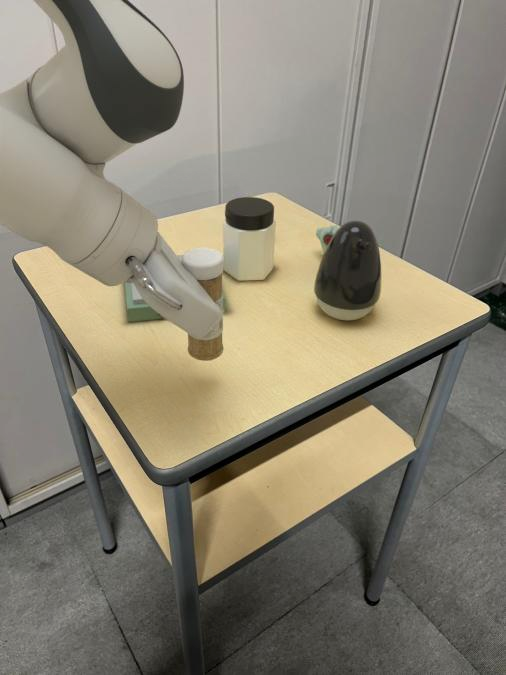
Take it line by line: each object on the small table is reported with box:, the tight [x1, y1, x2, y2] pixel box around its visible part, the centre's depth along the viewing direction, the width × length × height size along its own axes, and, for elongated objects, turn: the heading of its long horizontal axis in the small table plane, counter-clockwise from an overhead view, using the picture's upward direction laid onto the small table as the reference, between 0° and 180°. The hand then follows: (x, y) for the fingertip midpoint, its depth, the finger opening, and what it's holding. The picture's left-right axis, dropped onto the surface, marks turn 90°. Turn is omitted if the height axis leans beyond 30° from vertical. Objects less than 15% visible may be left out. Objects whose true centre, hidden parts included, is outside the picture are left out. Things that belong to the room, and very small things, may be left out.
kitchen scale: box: [124, 254, 227, 323], centre depth 85 cm, size 15×15×3 cm
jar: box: [222, 196, 277, 282], centre depth 89 cm, size 9×8×12 cm
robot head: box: [315, 224, 340, 253], centre depth 94 cm, size 8×4×7 cm, turn 55°
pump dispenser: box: [313, 220, 382, 321], centre depth 78 cm, size 10×10×15 cm
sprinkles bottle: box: [182, 247, 224, 362], centre depth 61 cm, size 5×5×13 cm
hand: (208, 301), depth 61 cm, fingers closed on sprinkles bottle, 4 cm apart
